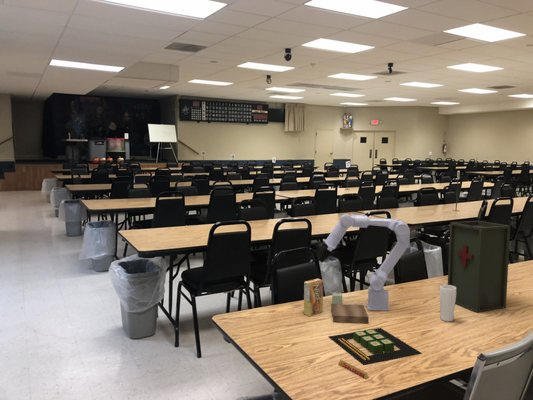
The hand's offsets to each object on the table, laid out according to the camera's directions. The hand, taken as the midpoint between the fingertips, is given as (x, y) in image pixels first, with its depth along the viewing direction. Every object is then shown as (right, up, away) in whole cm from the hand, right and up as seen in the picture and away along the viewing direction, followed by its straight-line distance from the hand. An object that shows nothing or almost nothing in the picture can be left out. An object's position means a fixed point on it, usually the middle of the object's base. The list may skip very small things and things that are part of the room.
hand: (320, 259), depth 205 cm
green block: (+9, -23, +3) cm, 25 cm away
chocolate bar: (+3, -30, -62) cm, 69 cm away
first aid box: (+77, -23, +3) cm, 80 cm away
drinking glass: (+54, -25, -17) cm, 62 cm away
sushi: (+15, -28, -42) cm, 53 cm away
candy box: (-4, -24, -9) cm, 26 cm away
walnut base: (+11, -24, -13) cm, 30 cm away
